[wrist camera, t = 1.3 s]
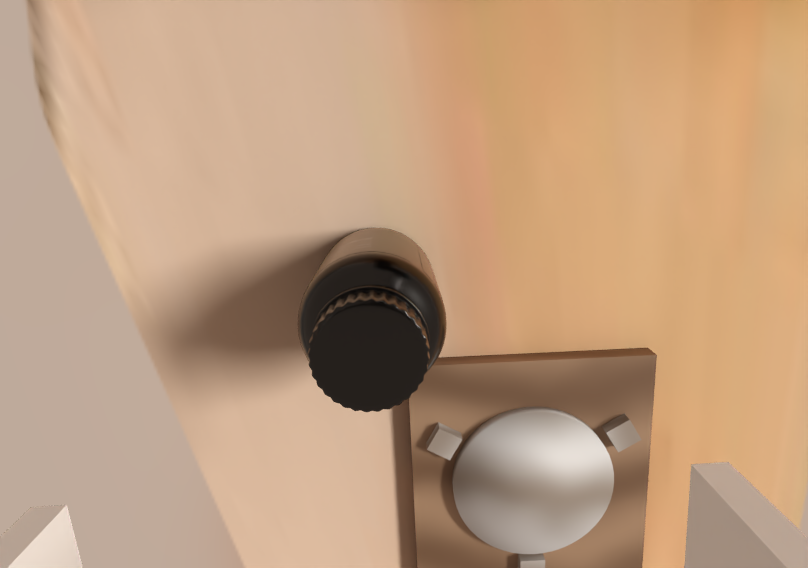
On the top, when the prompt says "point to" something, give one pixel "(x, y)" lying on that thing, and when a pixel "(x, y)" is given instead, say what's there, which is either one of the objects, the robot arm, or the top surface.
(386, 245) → the supplement bottle
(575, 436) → the board
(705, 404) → the top surface
